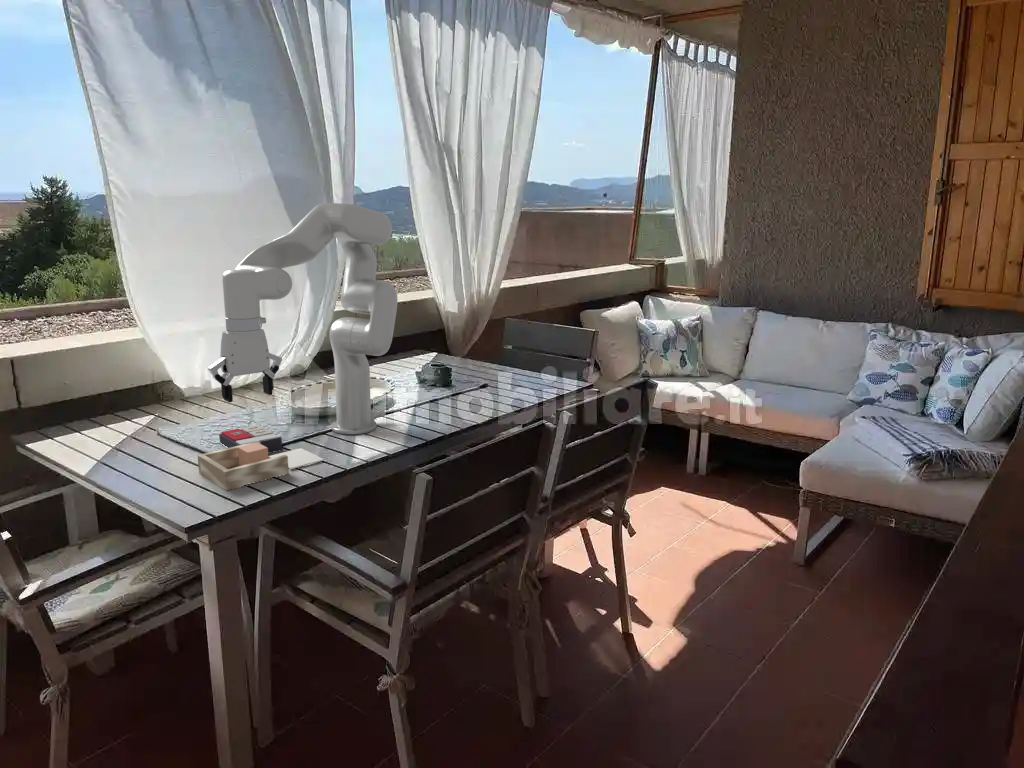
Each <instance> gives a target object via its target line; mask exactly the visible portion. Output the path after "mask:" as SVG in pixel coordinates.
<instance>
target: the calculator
mask: <svg viewBox="0 0 1024 768" xmlns="http://www.w3.org/2000/svg"><path fill="white" fill-rule="evenodd" d="M218 438H219V443H220V442H221V443H222V444H224V445H225V446H227V447H228V448H230V447H235V446H239V445H243V444H248V443H252V442H256V441H259V442H261V445H263V446H265V447H267V448H268V452H272V453H274V452H273V451H277V452H280V451H279V450H281V451H283V439H282V437H281V436H279V435H278V434H275V433H273V431H272V430H271V431H270V430H269V429H266V428H265V427H262V426H261V425H259V424H256V425H251V426H245V427H241V429H240V428H236V429H235V428H234V429H229V430H224V431H221V433H219V437H218Z"/></svg>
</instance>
